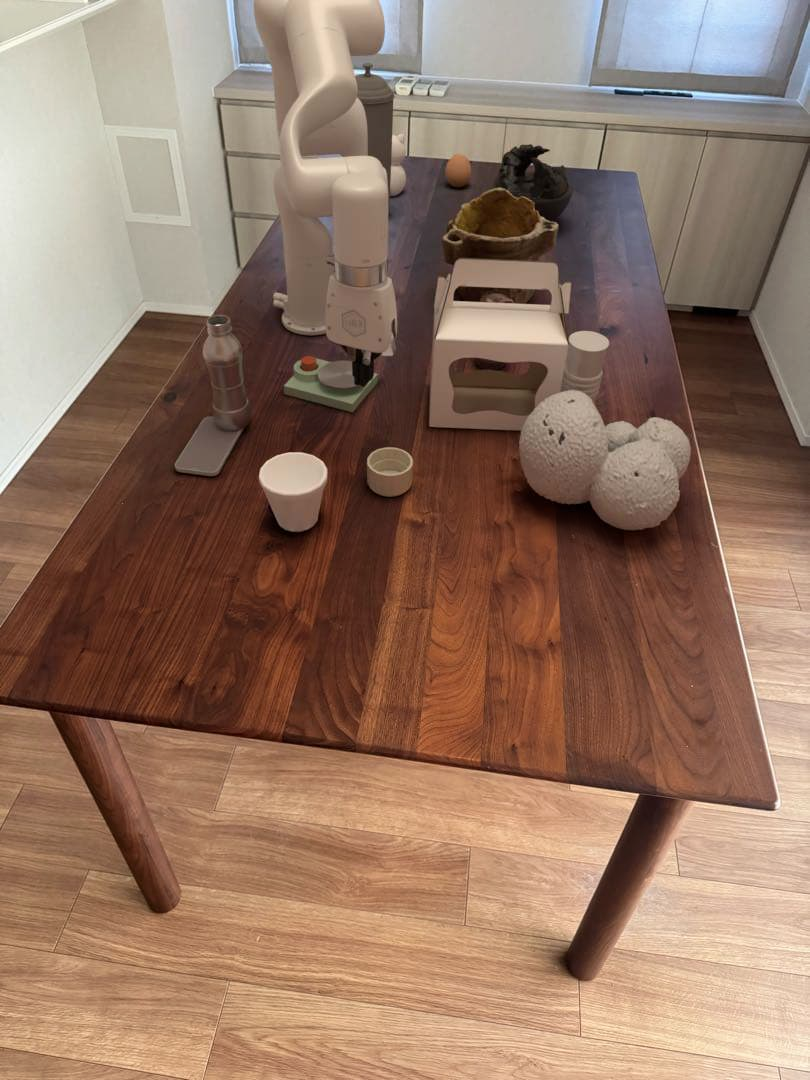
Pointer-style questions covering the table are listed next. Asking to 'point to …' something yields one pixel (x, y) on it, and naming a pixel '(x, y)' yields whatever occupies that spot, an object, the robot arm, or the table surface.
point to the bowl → (389, 471)
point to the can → (493, 298)
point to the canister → (377, 117)
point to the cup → (294, 489)
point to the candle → (585, 363)
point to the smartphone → (207, 449)
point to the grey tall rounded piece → (226, 375)
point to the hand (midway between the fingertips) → (363, 381)
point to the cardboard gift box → (496, 345)
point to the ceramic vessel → (498, 236)
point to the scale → (325, 389)
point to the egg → (458, 170)
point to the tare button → (308, 363)
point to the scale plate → (337, 375)
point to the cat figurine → (397, 165)
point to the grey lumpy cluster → (603, 461)
